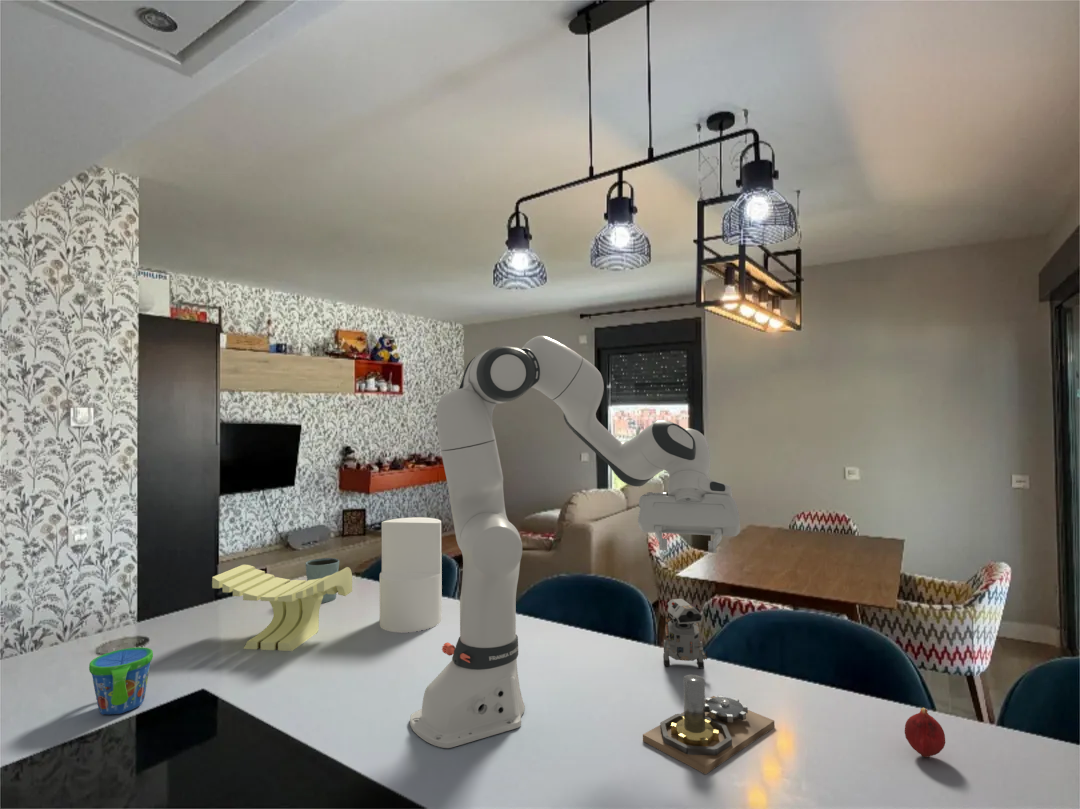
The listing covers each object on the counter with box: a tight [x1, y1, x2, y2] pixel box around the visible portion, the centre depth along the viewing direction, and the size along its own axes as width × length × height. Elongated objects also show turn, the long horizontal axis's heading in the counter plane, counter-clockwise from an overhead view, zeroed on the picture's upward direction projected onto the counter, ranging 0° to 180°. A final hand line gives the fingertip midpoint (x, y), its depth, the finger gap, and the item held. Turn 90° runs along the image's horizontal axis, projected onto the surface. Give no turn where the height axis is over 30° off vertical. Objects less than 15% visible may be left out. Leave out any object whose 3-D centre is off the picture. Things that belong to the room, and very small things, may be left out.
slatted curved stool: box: [211, 564, 353, 652], centre depth 157 cm, size 30×16×18 cm, turn 83°
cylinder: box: [379, 516, 443, 634], centre depth 169 cm, size 17×17×28 cm
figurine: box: [662, 597, 709, 669], centre depth 136 cm, size 9×12×15 cm
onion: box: [904, 707, 946, 758], centre depth 101 cm, size 6×6×8 cm
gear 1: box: [671, 674, 719, 746], centre depth 105 cm, size 8×8×10 cm
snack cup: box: [88, 646, 154, 715], centre depth 120 cm, size 16×10×10 cm
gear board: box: [642, 695, 775, 775], centre depth 108 cm, size 22×13×2 cm, turn 130°
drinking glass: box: [305, 557, 340, 604], centre depth 191 cm, size 10×10×12 cm
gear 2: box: [705, 694, 749, 722], centre depth 111 cm, size 8×8×3 cm
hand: (687, 550), depth 117 cm, fingers open, 8 cm apart
